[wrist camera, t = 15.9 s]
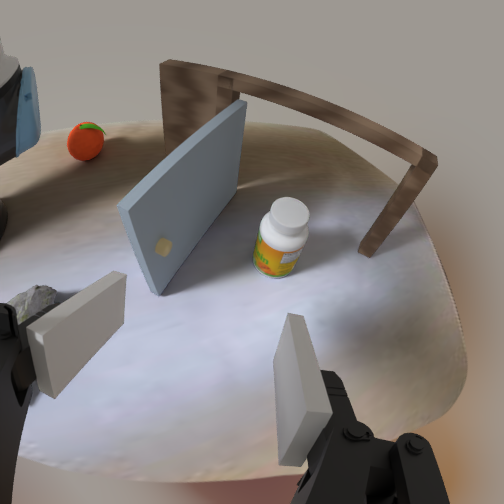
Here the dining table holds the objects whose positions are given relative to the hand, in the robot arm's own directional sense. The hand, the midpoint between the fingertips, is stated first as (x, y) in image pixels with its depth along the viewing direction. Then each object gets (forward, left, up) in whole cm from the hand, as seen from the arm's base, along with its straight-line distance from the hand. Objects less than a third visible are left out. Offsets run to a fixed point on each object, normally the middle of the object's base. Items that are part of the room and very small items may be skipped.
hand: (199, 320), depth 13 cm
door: (-10, +14, -18) cm, 25 cm away
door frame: (-5, +25, -18) cm, 31 cm away
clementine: (-37, +20, -18) cm, 45 cm away
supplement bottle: (0, +16, -18) cm, 24 cm away
